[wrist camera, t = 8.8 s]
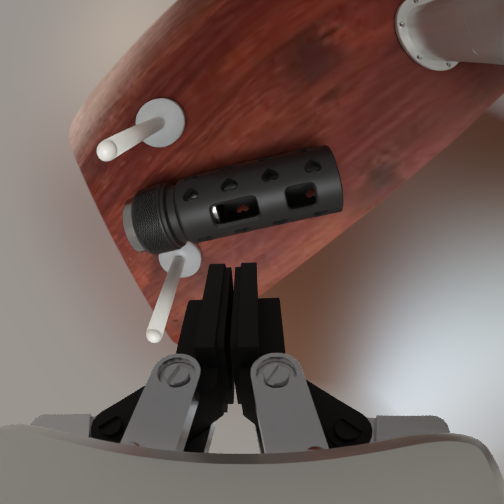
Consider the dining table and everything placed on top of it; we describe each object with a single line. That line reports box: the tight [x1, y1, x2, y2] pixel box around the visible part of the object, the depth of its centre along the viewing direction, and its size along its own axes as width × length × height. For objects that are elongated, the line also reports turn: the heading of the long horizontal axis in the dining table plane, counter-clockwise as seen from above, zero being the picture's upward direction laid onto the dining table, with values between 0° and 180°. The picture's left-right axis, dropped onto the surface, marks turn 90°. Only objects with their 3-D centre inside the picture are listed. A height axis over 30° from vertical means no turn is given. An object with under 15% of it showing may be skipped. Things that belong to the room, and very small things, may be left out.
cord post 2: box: [146, 241, 202, 343], centre depth 43 cm, size 7×7×20 cm
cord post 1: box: [97, 98, 186, 161], centre depth 32 cm, size 7×7×20 cm
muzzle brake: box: [123, 145, 343, 255], centre depth 41 cm, size 10×28×10 cm, turn 104°
